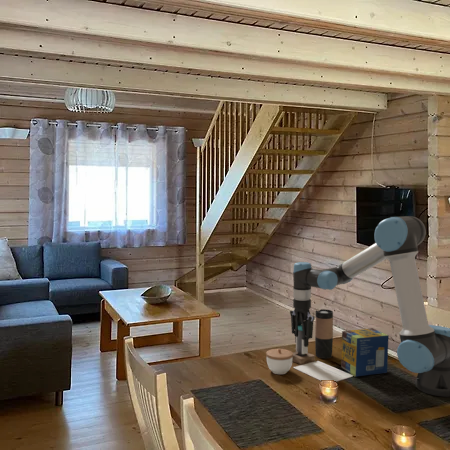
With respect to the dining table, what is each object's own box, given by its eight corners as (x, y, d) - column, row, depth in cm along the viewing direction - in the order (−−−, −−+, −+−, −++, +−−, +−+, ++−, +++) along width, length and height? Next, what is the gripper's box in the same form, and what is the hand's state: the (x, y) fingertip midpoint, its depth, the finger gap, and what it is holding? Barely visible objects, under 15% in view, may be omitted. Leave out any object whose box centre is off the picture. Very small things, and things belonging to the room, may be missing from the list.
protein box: (340, 367, 201) (341, 330, 200) (371, 364, 206) (373, 327, 205) (355, 377, 191) (356, 338, 190) (388, 372, 196) (389, 334, 195)
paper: (353, 376, 193) (353, 375, 193) (327, 384, 185) (327, 383, 185) (318, 361, 209) (318, 360, 209) (293, 367, 202) (293, 367, 202)
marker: (307, 360, 210) (307, 326, 209) (301, 362, 209) (301, 327, 208) (302, 358, 213) (302, 324, 212) (296, 359, 212) (296, 325, 210)
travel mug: (332, 359, 212) (333, 313, 211) (314, 358, 214) (315, 313, 212) (332, 353, 220) (333, 309, 218) (315, 352, 221) (315, 308, 220)
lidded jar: (262, 374, 195) (262, 351, 194) (270, 365, 205) (270, 343, 204) (289, 378, 191) (289, 354, 190) (295, 368, 201) (295, 346, 200)
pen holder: (314, 361, 210) (315, 355, 210) (300, 364, 205) (300, 359, 205) (302, 355, 216) (302, 350, 216) (288, 359, 212) (288, 353, 212)
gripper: (321, 301, 204) (321, 356, 206) (296, 294, 218) (296, 345, 220) (308, 303, 200) (307, 359, 202) (283, 296, 214) (282, 348, 216)
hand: (301, 352), depth 211 cm, fingers closed on marker, 3 cm apart
